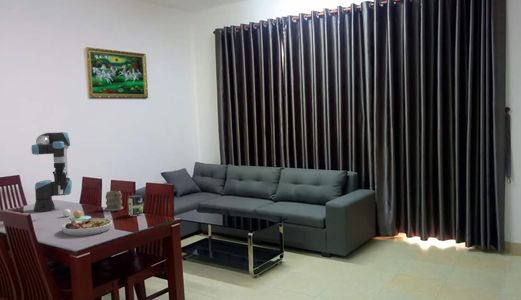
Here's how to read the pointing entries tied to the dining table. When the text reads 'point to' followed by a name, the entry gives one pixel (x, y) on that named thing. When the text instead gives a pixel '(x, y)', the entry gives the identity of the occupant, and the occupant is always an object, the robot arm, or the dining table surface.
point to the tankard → (113, 201)
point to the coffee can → (135, 205)
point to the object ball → (77, 214)
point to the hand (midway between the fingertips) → (60, 194)
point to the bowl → (86, 226)
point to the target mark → (80, 218)
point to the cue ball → (66, 212)
